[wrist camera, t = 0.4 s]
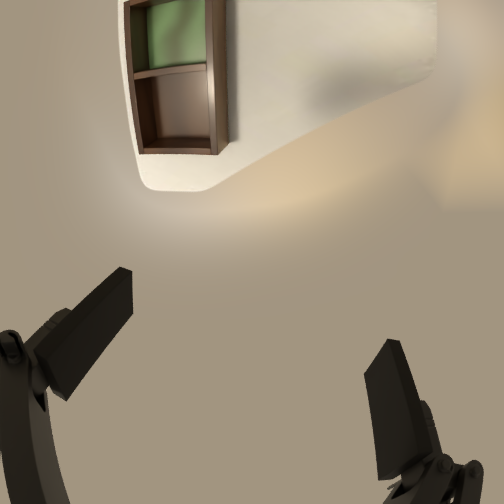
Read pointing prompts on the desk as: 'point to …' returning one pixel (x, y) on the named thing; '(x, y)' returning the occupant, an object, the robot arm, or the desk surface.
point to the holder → (177, 75)
